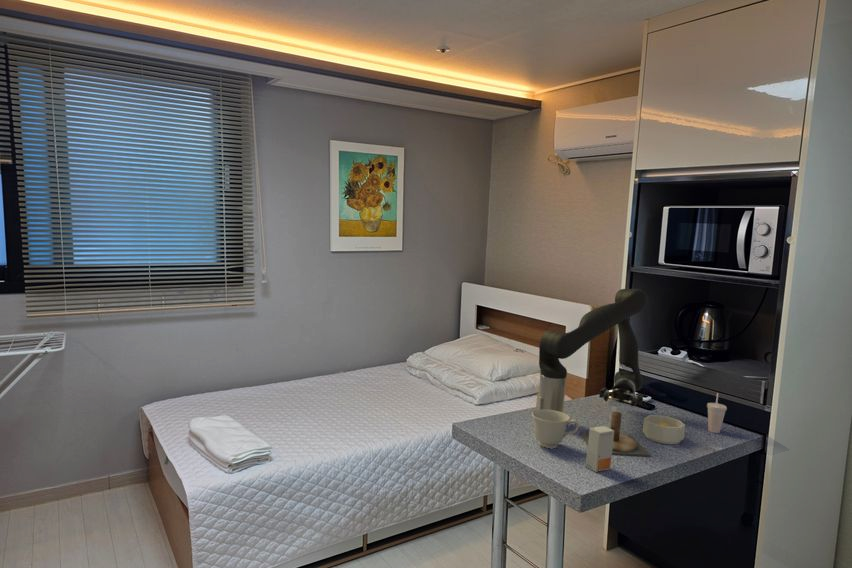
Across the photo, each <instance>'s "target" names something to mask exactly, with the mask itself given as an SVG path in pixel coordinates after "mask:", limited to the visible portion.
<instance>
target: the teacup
mask: <svg viewBox="0 0 852 568" xmlns="http://www.w3.org/2000/svg"><path fill="white" fill-rule="evenodd" d="M531 416H532V417H533V428H534V429H533V430H534V436H535V439H536V440H537V441H539V442H538V443H539V444H540V445H541V446H543V447H542V448H544V447H546V448H545V449H548V448H555V449H557V448H558V444H560V443H561V442H563V441H564V438H565V437H566V436H569V435H573V434H576V432H578V430H579V429H580V425H579V424H580V423H579V422H578V420H576V419H571V417H570V416H569V415H568V414H567V413H565V412H563V413H562V412H559V411H555V410H548V409H540V410H536V409H535V410H533V411H532V412H531ZM572 424H575V428H574V429H572V430H569V431H566V429H567V427H571V425H572ZM539 444H538V445H539ZM540 445H539V446H540ZM541 446H540V447H541ZM556 447H557V448H556Z"/></svg>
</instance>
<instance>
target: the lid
mask: <svg viewBox="0 0 852 568" xmlns="http://www.w3.org/2000/svg"><path fill="white" fill-rule="evenodd" d="M622 414H623V413H621V412H619V411H612V412H611V421H610V427H609V428H610V429H612V430H614V440H613V448H612V451H618V452H630V451H634V450H635V449H636V448H637V442H636V441H635V440H634V439H632V438H630V437H628V436H626V435H627V434H623V433H621V424H622V417H623V415H622Z"/></svg>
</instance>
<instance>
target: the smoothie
mask: <svg viewBox="0 0 852 568" xmlns="http://www.w3.org/2000/svg"><path fill="white" fill-rule="evenodd" d="M718 401H719V392H717V393H716V399H715V402H707V403H706V408H707V424H708V425H707V427H708V432H710V433H713V434H720V433H721V429H722V425H723V423H724V417H725V414H726V411H727V410H728V408H727V406H726V405H725V404H722V403H718Z"/></svg>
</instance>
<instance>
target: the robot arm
mask: <svg viewBox="0 0 852 568" xmlns="http://www.w3.org/2000/svg"><path fill="white" fill-rule="evenodd" d="M648 304H649V297H648V294H647V293H646V292H645V291H644V290H642V289H638V288H621V289H619V290H618V291H617V292H616V294H615V297H614V303H608V304H604V305H601V306H598V307H595V308H593V309H592V310H590V311H588V312H587V313H585V314H584V315H583V316H582V317H581V318H580V321H579V324H578V327H577V328H575V329H573V330H571V331H569V332H561V331H558V330H553V329H547V330H546V331H544V332H543V334H542V335H541V338H540V340H539V349H538V353H539V354H538V365H539V369H540V370H539V371H540V373H539V387H538V392H537V393H536V405H535V410H540V409H548V410H555V411H559V412H562V413H564V408H565V400H566V399H565V398H566V389H567V387H566V385H567V375H568V371H567V368H566V367H565V366H564V365H563V364H562V362H561V361H560V359H561V360H562V359H563V360H565V359H568V358H569V357H571V356H572V355H574V354H575V353H576V352H578V350H580V349H581V348H582V347H583V346H584V345H586V344H588V343H589V342H591V341H592V340H594V339H595V338H597V337H599V336H601V335H602V334H604V333H605V332H607V331H609V330H610V329H611V328H614V327H615V326H616V325H617V329H618V338H619V340H618V341H619V350H618V363H619V364H620V365H622V366H625V367H628V368H630V369H631V370H632V371H624V370H623V371H621V370H619V371H617V372H616V373H614V376H613V382H614V383H613V384H614V385H613V387H612V388H611V389H609V390H608V388H607V387H605V386H602V387H601V388H600V390H599V394H598V395H599V398H600V399H601V398H603V400H604V401H605V402H608V400H610V401H616V402H617V403H620V404H627V403H628V404H630V406H631V407H634V406H637V404H638V405H639V406H642V405H643V400H644V394H643V393H638V394H637V395H636V391H640V390H641V389H642V388H643V383H644V382H643V378H642V374H641V370H640V365H639V343H638V339H637V336H636V335H635V332H634V329H632V325H631V322H630V317H633V316H635V315H638V314H639V313H642V312H643V311H644V310H645V309H646V308H647V306H648Z"/></svg>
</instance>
